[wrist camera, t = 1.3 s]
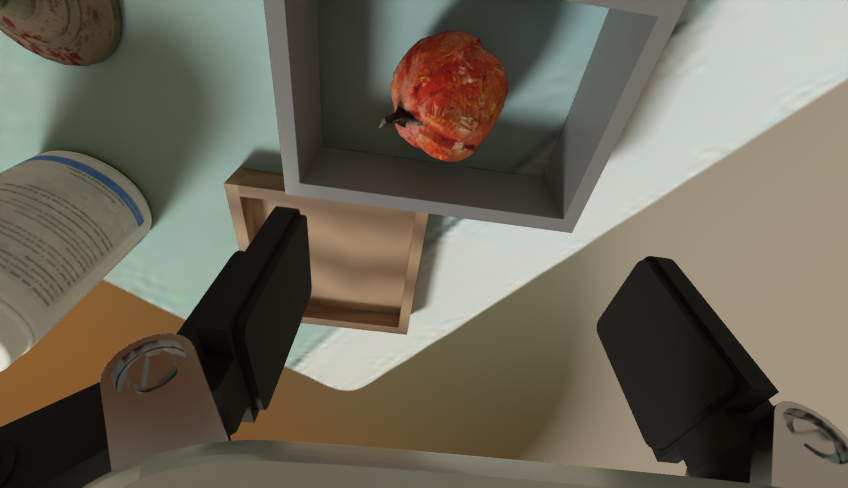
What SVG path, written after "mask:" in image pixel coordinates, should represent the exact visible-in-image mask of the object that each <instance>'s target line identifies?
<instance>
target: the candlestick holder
mask: <svg viewBox="0 0 848 488" xmlns="http://www.w3.org/2000/svg"><path fill="white" fill-rule="evenodd" d="M121 23H122V20H121V15H120V9H119V4H118V0H0V30H1V31H2V32H3V33H4V34H6V35H7V36H9V37H10V38H11V39H13V40H14V41H16V42H17V43H18V44H20V45H21V46H23V47H24V48H25V49H27V50H29V51H31V52H33V53H35V54H37V55H39V56H41V57H43V58H45V59H48V60H51V61H54V62H58V63H61V64H64V65H76V66H89V65H92V64H96V63H99V62H102V61H104V60H105V59H106V58H107V57H109V56H110V55H111V54H112V53H113V52H114V50H115V48H116V46H117V44H118V42H119V40H120V35H121Z"/></svg>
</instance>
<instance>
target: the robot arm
mask: <svg viewBox="0 0 848 488" xmlns="http://www.w3.org/2000/svg"><path fill="white" fill-rule="evenodd" d="M311 291H312V281H311V267H310V253H309V239H308V225H307V217H306V215H301V214H300V211H299V209H296V208H289V207H281V206H276V207H275V208H274V209H273V210H272V212H271V213H270V215H269V216H268V218H267V219H266V221H265V222H264V224H263V225H262V227H261V228H260V230H259V231H258V233H257V234H256V235H255V237H254V238H253V240H252V241H251V243H250V244H249V246H248V247H247V249H246V250H245V251H237V252H235V253H234V254H233V255H232V256H231V258H230V259H229V261H228V262H227V263H226V265H225V266H224V268H223V269H222V271H221V272H220V273H219V275H218V276H217V278H216V279H215V280H214V282H213V283H212V285H211V286H210V287H209V289H208V290H207V292H206V293H205V294H204V296H203V297H202V299H201V300H200V302H199V303H198V304H197V306H196V307H195V309H194V310H193V311H192V313H191V314H190V316H189V317H188V318H187V320H186V321H185V323H184V324H183V326H182V327H181V328H180V330H179V331H178V333H177V334H172V333H167V334H156V335H152V336H148V337H144V338H142V339H140V340H137V341H135V342H133V343H131V344H129V345H128V346H126V347H125V348H123V349H122V350H121V351H119V352H118V353H117V354H116V355H115V356H114V357H113V358H112V359H111V360H110V361H109V362H108V363H107V365H106V367H105V368H104V370H103V372H102V374H101V381H100V382H99V383H97V384H94V385H93V386H90V387H88V388H86V389H83V390H81V391H79V392H77V393H75V394H73V395H70V396H68V397H66V398H64V399H61V400H59V401H57V402H55V403H53V404H50V405H48V406H46V407H44V408H42V409H39V410H37V411H35V412H33V413H30V414H28V415H26V416H24V417H22V418H19V419H17V420H15V421H13V422H11V423H9V424H6V425H4V426H2V427H0V488H848V438H847V437H846V436H845V435H844V434H843V433H842V432H841V431H840V430H839V429H838V428H837V427H836V426H835V425H833V424H832V423H831V422H830V421H828V420H827V419H826V418H824V417H823V416H821V415H820V414H818V413H817V412H815V411H814V410H812V409H810V408H807V407H805V406H803V405H801V404H798V403H794V402H785V401H783V402H780V403H778V404H776V405H775V406H773V405H772V404H771V403H770V402H769V400H768V399H770V398H771V397H772V396H774V395H775V394H777V393H778V392H779V391H778V390H777V389H776V388H775V386H774V385H773V384H772V383H771V381H770V380H769V379H768V378H767V376H766V375H765V374H764V373H763V372H762V370H761V369H760V368H759V366H758V365H757V364H756V363H755V361H754V360H753V359H752V358H751V356H750V355H749V354H748V353H747V351H746V350H745V349H744V348H743V346H742V345H741V344H740V343H739V341H738V340H737V339H736V338H735V336H734V335H733V334H732V333H731V332H730V330H729V329H728V328H727V327H726V325H725V324H724V323H723V322H722V320H721V319H720V318H719V317H718V315H717V314H716V313H715V312H714V310H713V309H712V308H711V307H710V306H709V304H708V303H707V302H706V300H705V299H704V298H703V297H702V295H701V294H700V293H699V292H698V290H697V289H696V288H695V287H694V286H693V284H692V283H691V282H690V280H689V279H688V278H687V277H686V276H685V274H684V273H683V272H682V270H681V269H680V268H679V267H678V265H677V264H676V263H675V262H674V261H673V260H671V259H668V258H660V257H653V256H648V257H646V258H644V260H641V261H639V262H638V263H637V264H636V266H635V267H634V268H633V270H632V271H631V273H630V275H629V276H628V277H627V279H626V280H625V282H624V283H623V285H622V286H621V288H620V289H619V291H618V292H617V294H616V295H615V297H614V298H613V300H612V301H611V303H610V304H609V305H608V307H607V308H606V310H605V311H604V313H603V314H602V316H601V317H600V319H599V320H598V323H597V332H598V335H599V337H600V340H601V342H602V344H603V347H604V349H605V351H606V354H607V356H608V358H609V360H610V363H611V365H612V367H613V370H614V372H615V374H616V377H617V379H618V381H619V383H620V386H621V388H622V390H623V393H624V395H625V397H626V399H627V402H628V404H629V406H630V408H631V411H632V413H633V415H634V418H635V420H636V422H637V425H638V427H639V429H640V432H641V434H642V436H643V438H644V440H645V442H646V444H647V445H648V446H649V447H651V448H652V450H653V452H654V455H655V457H656V459H657V461H658V462H669V463H679V462H680V461H682V460H684V462H685V464H686V466H687V470H686V473H685V476H676V475H665V474H655V473H646V472H636V471H625V470H616V469H605V468H595V467H584V466H574V465H563V464H552V463H542V462H531V461H520V460H509V459H498V458H488V457H478V456H466V455H455V454H444V453H443V454H442V453H431V452H421V451H410V450H398V449H387V448H376V447H365V446H352V445H338V444H323V443H309V442H295V441H269V440H239V441H232V438H231V435H232V434H234V433H235V432H237V430H238V427H239V425H240V423H241V421H242V422H253V423H254V422H255V420H256V417H257V415H258V412H259V410H260V409H262V410H266V409H267V407H268V405H269V403H270V401H271V398H272V395H273V393H274V391H275V388H276V385H277V383H278V380H279V378H280V375H281V372H282V370H283V367H284V365H285V362H286V359H287V357H288V354H289V352H290V349H291V346H292V344H293V341H294V339H295V336H296V333H297V331H298V328H299V326H300V323H301V320H302V318H303V315H304V313H305V310H306V307H307V305H308V302H309V299H310V296H311Z"/></svg>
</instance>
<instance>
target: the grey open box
mask: <svg viewBox="0 0 848 488" xmlns="http://www.w3.org/2000/svg"><path fill="white" fill-rule="evenodd" d="M567 1H572V2H578V3H583V4H589V5H594V6H600V7H606V8H610V9H609V11H608V14H607V16H606V19H605V22H604V24H603V27H602V29H601V32H600V34H599V37H598V39H597V42H596V45H595V47H594V50H593V52H592V55H591V57H590V60H589V62H588V65H587V68H586V70H585V73H584V75H583V78H582V80H581V83H580V85H579V88H578V91H577V93H576V96H575V98H574V101H573V103H572V106H571V109H570V111H569V114H568V116H567V119H566V121H565V124H564V126H563V129H562V132H561V134H560V137H559V139H558V142H557V144H556V147H555V149H554V152H553V155H552V157H551V160H550V162H549V165H548V167H547V170H546V172H545V175H544V178H539V177H532V176H525V175H518V174H511V173H504V172H497V171H490V170H483V169H476V168H469V167H463V166H456V165H449V164H442V163H435V162H428V161H421V160H414V159H407V158H400V157H393V156H386V155H380V154H373V153H366V152H359V151H352V150H345V149H338V148H331V147H324V146H322V119H321V92H320V64H319V37H318V10H317V0H264V9H265V17H266V26H267V35H268V44H269V53H270V61H271V70H272V79H273V88H274V96H275V105H276V114H277V123H278V131H279V140H280V149H281V158H282V167H283V175H284V184H285V193H286V194H287V195H295V196H302V197H309V198H317V199H324V200H332V201H339V202H346V203H354V204H361V205H369V206H376V207H383V208H391V209H398V210H406V211H413V212H420V213H428V214H435V215H443V216H450V217H458V218H465V219H472V220H480V221H487V222H495V223H502V224H509V225H517V226H524V227H532V228H539V229H546V230H554V231H561V232H569V233H572V231H573V229H574V227H575V225H576V223H577V221H578V219H579V217H580V215H581V213H582V211H583V209H584V207H585V205H586V203H587V201H588V199H589V197H590V195H591V193H592V191H593V189H594V187H595V185H596V183H597V181H598V179H599V177H600V175H601V173H602V171H603V169H604V167H605V165H606V163H607V161H608V159H609V157H610V155H611V153H612V151H613V149H614V147H615V145H616V143H617V141H618V139H619V137H620V135H621V133H622V131H623V129H624V127H625V125H626V123H627V121H628V119H629V117H630V115H631V113H632V111H633V109H634V107H635V105H636V103H637V101H638V99H639V97H640V95H641V93H642V91H643V89H644V87H645V85H646V83H647V81H648V79H649V77H650V75H651V73H652V71H653V69H654V67H655V65H656V63H657V61H658V59H659V57H660V55H661V53H662V51H663V49H664V47H665V45H666V43H667V41H668V39H669V37H670V35H671V33H672V31H673V29H674V27H675V25H676V23H677V21H678V19H679V17H680V15H681V13H682V11H683V9H684V7H685V5H686V3H687V1H688V0H567Z"/></svg>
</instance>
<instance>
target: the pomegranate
mask: <svg viewBox="0 0 848 488" xmlns="http://www.w3.org/2000/svg"><path fill="white" fill-rule="evenodd" d="M390 92H391V96H392V101H393V105H394V113H393V114H391V115H390V116H387V117H385V118H384V119H383V120H382V121H381V124H380V127H379V128H381V127H382V126H386V125H389V124H395V126H396V128H397V131H398V133H399V135H400V136H401V137H403V138H404V139H405V140H406V141H407V142H408V143H410V144H411V145H412V146H414V147H417V148H420V149H423V150H424V151H425V152H426V153H427V154H429V155H430V156H432V157H434V158H436V159H440V160H443V161H453V162H457V161H459V160H463V159H465V158H467V157H468V156H470V155H472V154H473V153H474V151H475V150H476V149H477V148H478V146H479V145H480V143H481V142H482V141H483V140H484V138H485V137H486V136H487V135H488V134H489V132H490V131H491V130H492V128H493V127H494V125H495V123H496V121H497V119H498V117H499V115H500V113H501V111H502V109H503V107H504V101H505V98H506V95H507V92H508V84H507V80H506V75H505V72H504V69H503V66H502V63H501V61H500V60H499V59H498V58H497V57H496V56H495V55H493V54H492V53H491V52H489V51H488V50H485V49H484V48H483V47H482V44H481V41H480V39H479V38H478V37H477V36H475V35H473V34H470V33H463V32H457V31H447V32H443V33H440V34H438V35H435V36H433V37H430V36H429V37H427V38H423V39H421V40H419V41H418V42H417V43H416V44H415V45H414V46H413V47H411V48H410V49H409V50H408V52H407V53H406V55H405V56H404V57H403V59H402V60H401V61H400V62H399V64H398V66H397V68H396V70H395V71H394V74H393V79H392V83H391V90H390Z"/></svg>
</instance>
